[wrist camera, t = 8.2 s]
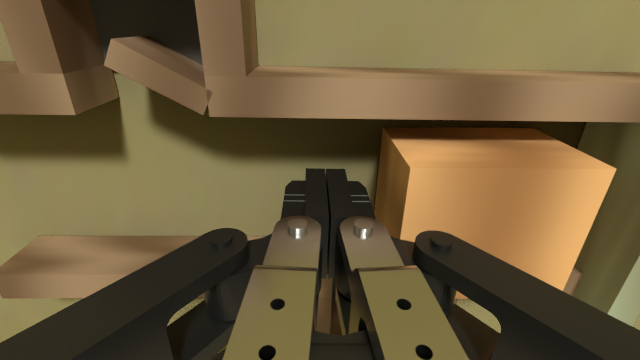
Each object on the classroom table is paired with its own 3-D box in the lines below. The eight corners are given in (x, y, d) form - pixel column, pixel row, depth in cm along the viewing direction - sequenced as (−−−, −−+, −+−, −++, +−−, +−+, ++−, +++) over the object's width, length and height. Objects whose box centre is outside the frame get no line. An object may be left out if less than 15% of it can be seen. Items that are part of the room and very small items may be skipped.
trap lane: (72, 315, 17) (8, 395, 13) (-91, -70, 10) (-318, -120, 6) (536, 312, 18) (594, 388, 14) (687, -47, 11) (878, -81, 7)
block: (372, 232, 15) (391, 299, 12) (383, 127, 13) (410, 167, 9) (501, 232, 15) (559, 298, 12) (533, 128, 13) (617, 168, 10)
